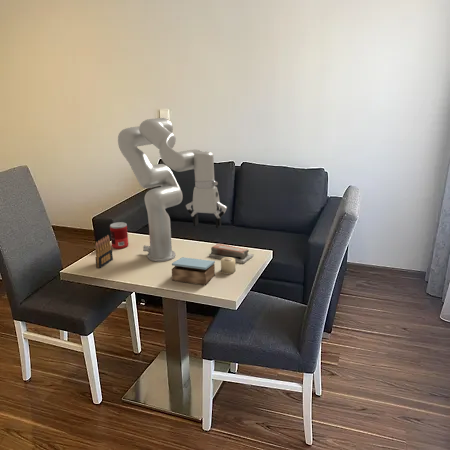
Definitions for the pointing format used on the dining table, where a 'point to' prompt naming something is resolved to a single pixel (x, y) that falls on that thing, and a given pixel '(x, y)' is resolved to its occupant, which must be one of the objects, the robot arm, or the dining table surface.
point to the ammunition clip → (103, 252)
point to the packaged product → (230, 253)
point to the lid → (193, 263)
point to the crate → (193, 274)
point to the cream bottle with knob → (228, 265)
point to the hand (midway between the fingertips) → (207, 226)
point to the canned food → (119, 235)
